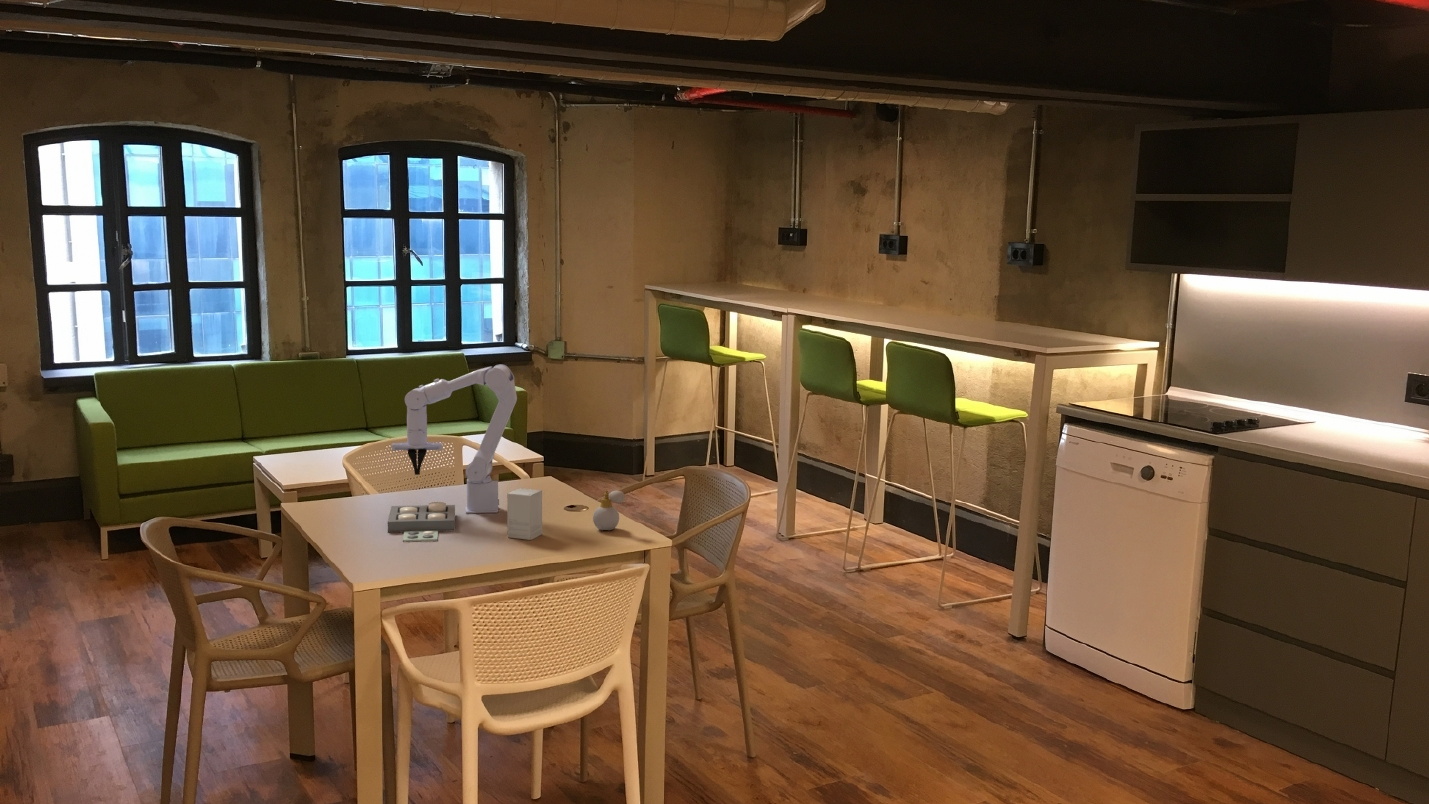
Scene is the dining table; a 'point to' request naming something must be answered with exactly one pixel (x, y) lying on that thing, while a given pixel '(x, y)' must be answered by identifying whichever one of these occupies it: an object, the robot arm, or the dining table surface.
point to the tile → (420, 536)
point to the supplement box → (524, 513)
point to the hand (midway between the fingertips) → (417, 474)
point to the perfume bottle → (608, 511)
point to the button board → (421, 520)
